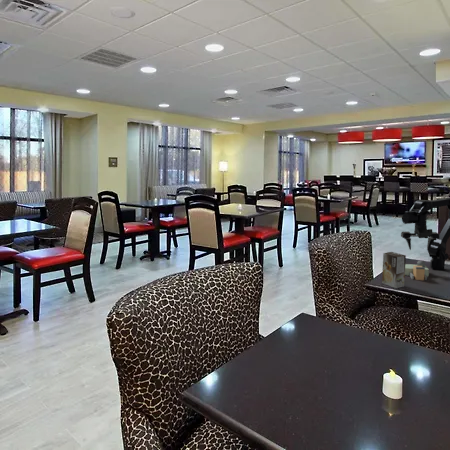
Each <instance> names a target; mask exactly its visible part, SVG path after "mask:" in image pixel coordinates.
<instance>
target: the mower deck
mask: <svg viewBox="0 0 450 450" xmlns="http://www.w3.org/2000/svg"><path fill="white" fill-rule="evenodd" d="M416 263H417V264H410V263H405V276H409V277H410V279H411V280H415V278H414V275H413V265H414V266H422V267H424V268H425V273H424V281H427V280H428V277H429V275H430V269H429V268H428V266H426V263H427V262H426V261H424V260H418V261H417V262H416Z"/></svg>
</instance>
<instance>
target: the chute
mask: <svg viewBox="0 0 450 450" xmlns="http://www.w3.org/2000/svg"><path fill="white" fill-rule="evenodd" d="M414 265H415V264H413V275H414V280H415V281H425V279H424V273H425V268H424V267H422V266H414Z"/></svg>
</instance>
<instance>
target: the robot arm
mask: <svg viewBox="0 0 450 450" xmlns="http://www.w3.org/2000/svg"><path fill="white" fill-rule="evenodd" d="M445 206H446V208H447V209H448V214H447V215H448V219H447V221H446V223H445V224H444V226H443V228H442V230H441V231H440V233H439V232H437V231H433V229H431V228H428V226H427V220H428V218H427V217H428V216H429V215H431V213H430V211H431V210H432V209H434V208H440V207H445ZM401 221H402V223H403V224H405V225H406V224H407V225H408V224H414V232H413V233H412V232H410V231H401V233H400V237H402V239H404V240H405V241H406V243H407V246H408V250H409V251H411V249H412V242H411V241H412V238H411V237H413V238H416V237H418V238H419V239H427V245H426V250H427V252H428V256H429V257H430V258H431V259H430V261H429V268H431V269H432V270H434V271H435V270H436V271H446V269H445V266H446V264H445V263H446V261H447V260H448V258H449V254H447V252H446V250H447V245H446V243H448V240H449V239H450V197H444V198H440V199H430V200H425V199H418V200H415V202H414V204H413V205H412V207H411V208H410V209H409V211H408V210H407V211H404V213H403V214H402V216H401Z"/></svg>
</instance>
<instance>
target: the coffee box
mask: <svg viewBox="0 0 450 450" xmlns="http://www.w3.org/2000/svg"><path fill="white" fill-rule="evenodd" d="M406 256H407V255H406V254H401V253H397V252H395V251H387V252H383V253H382V277H381V284H383V285H385V286H388V287H391V288H394V289H398V288H403V287H405V279H406V278H405V276H406V275H405V264H406V259H407V258H406Z"/></svg>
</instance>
